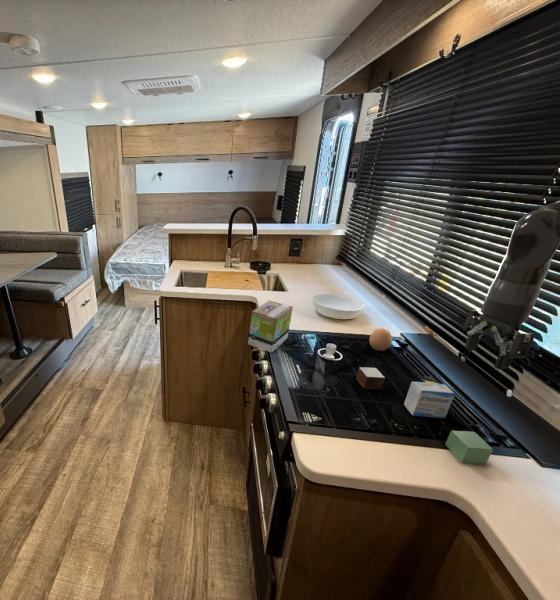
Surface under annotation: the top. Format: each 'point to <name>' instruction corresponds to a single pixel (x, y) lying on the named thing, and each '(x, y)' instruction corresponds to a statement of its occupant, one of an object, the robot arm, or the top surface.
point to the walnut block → (370, 378)
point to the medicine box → (428, 399)
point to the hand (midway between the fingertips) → (484, 358)
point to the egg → (380, 339)
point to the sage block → (468, 447)
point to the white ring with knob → (329, 352)
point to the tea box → (270, 325)
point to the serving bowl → (337, 306)
